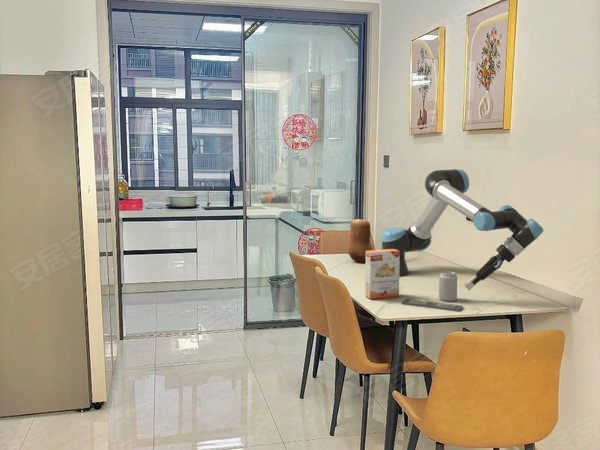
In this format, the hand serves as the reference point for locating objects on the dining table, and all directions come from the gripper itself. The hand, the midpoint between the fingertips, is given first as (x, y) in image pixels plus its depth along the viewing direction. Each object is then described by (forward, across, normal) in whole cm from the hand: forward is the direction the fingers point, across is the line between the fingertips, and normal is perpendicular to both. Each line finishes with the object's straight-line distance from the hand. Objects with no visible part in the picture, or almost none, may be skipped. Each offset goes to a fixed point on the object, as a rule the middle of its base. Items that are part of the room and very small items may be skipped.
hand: (466, 287), depth 236 cm
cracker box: (+29, -1, -21) cm, 36 cm away
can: (+10, 0, -1) cm, 10 cm away
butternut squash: (+41, -76, -33) cm, 92 cm away
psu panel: (+14, +10, -6) cm, 19 cm away
